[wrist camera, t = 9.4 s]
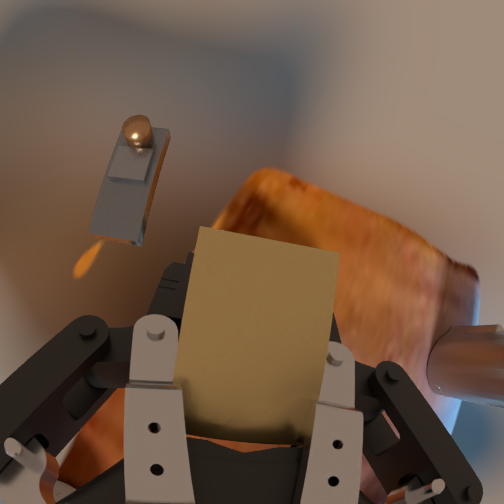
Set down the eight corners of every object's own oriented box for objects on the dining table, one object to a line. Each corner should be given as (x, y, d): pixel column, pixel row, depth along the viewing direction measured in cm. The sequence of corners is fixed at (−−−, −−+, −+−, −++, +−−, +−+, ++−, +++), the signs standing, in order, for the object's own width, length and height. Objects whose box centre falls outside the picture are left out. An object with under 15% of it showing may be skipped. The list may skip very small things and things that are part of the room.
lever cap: (256, 377, 15) (308, 445, 6) (191, 367, 15) (166, 430, 6) (271, 286, 16) (339, 253, 7) (206, 275, 16) (200, 226, 7)
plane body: (141, 246, 31) (130, 234, 26) (94, 237, 30) (76, 225, 25) (170, 138, 34) (166, 114, 29) (127, 134, 33) (118, 110, 29)
